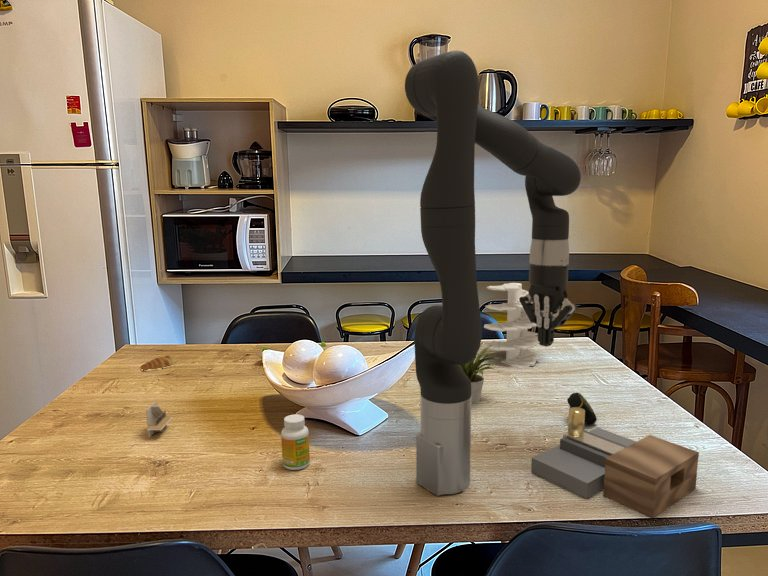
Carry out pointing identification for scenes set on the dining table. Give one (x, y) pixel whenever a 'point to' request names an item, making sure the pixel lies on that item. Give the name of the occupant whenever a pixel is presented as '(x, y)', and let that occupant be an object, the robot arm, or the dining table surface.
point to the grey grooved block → (577, 464)
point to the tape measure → (581, 402)
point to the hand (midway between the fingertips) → (545, 345)
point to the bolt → (586, 439)
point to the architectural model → (156, 419)
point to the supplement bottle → (295, 443)
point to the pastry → (158, 363)
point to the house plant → (472, 372)
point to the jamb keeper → (650, 475)
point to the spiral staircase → (514, 329)
